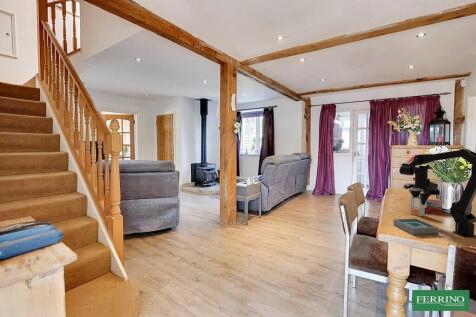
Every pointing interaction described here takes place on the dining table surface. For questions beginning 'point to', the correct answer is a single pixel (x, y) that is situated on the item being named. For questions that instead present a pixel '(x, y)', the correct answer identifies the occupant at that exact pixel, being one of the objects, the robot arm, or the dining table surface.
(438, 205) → the medicine box
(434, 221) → the dining table surface
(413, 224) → the box
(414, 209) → the skincare box
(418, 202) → the cube with square boss
